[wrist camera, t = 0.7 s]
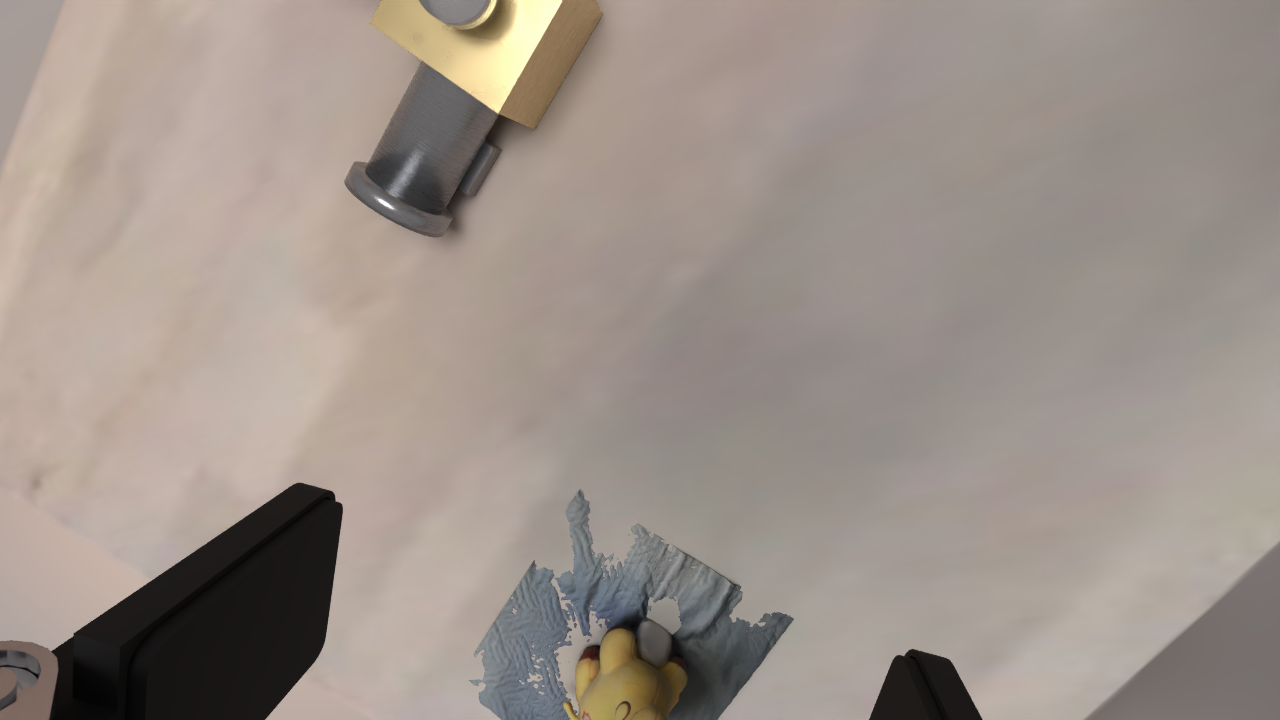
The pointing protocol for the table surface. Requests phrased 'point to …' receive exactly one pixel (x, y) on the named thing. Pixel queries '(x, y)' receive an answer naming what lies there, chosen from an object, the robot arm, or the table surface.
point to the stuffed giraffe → (624, 637)
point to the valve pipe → (464, 100)
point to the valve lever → (460, 12)
